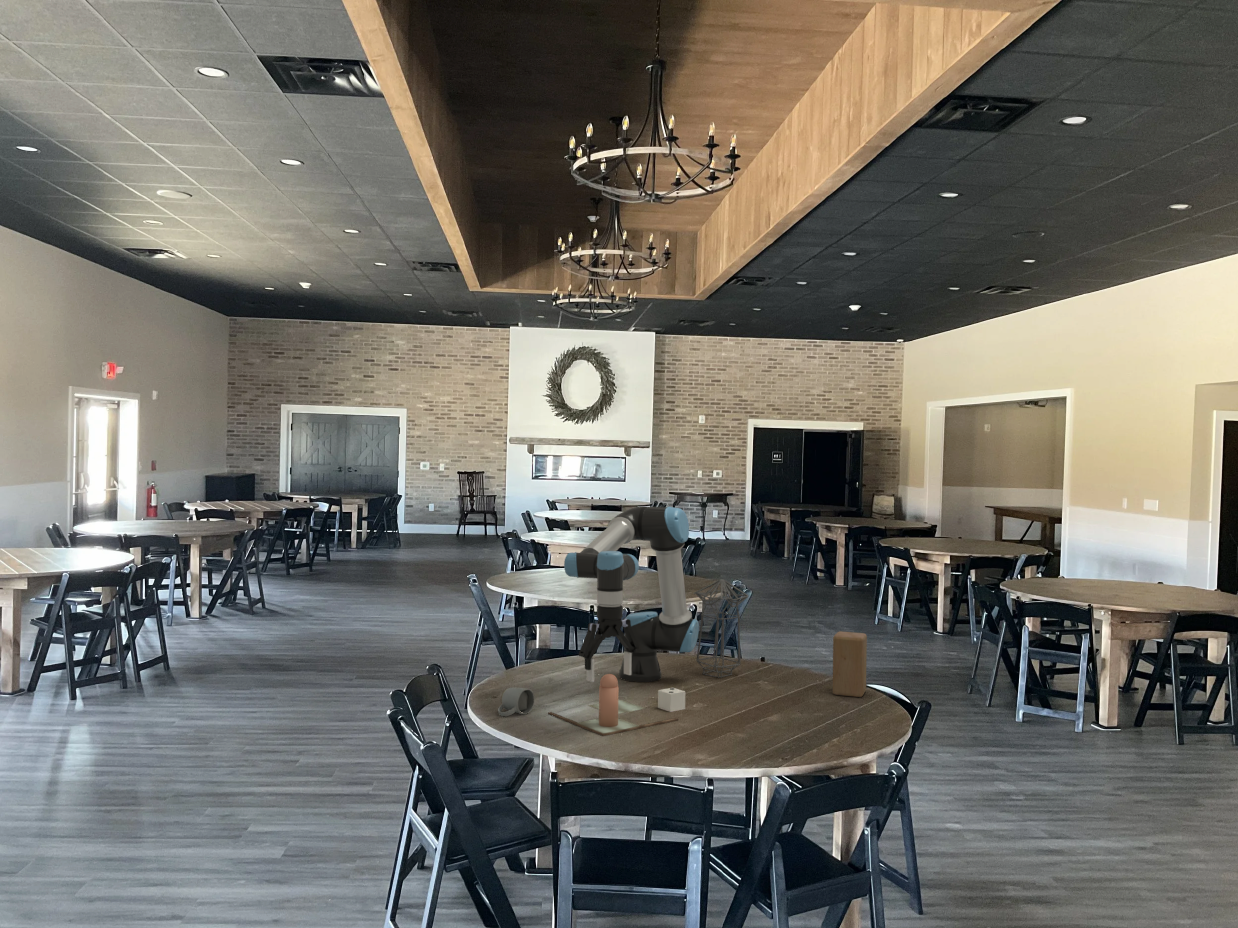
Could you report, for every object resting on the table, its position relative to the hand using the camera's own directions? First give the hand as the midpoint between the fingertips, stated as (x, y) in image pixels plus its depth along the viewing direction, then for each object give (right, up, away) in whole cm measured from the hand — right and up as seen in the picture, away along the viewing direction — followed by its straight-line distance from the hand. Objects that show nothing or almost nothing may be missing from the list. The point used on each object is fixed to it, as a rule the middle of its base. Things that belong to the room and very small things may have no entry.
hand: (609, 677), depth 270 cm
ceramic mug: (-29, -14, +13) cm, 35 cm away
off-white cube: (+19, -14, +19) cm, 30 cm away
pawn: (0, -14, 0) cm, 14 cm away
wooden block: (+81, -16, +44) cm, 93 cm away
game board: (+1, -14, +9) cm, 17 cm away
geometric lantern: (+40, -15, +69) cm, 81 cm away
